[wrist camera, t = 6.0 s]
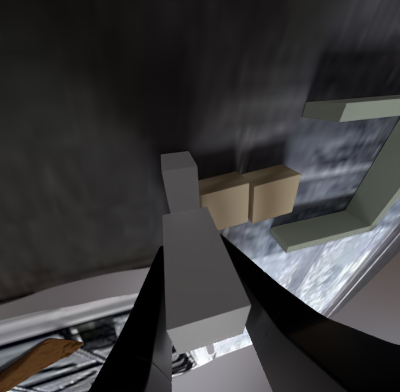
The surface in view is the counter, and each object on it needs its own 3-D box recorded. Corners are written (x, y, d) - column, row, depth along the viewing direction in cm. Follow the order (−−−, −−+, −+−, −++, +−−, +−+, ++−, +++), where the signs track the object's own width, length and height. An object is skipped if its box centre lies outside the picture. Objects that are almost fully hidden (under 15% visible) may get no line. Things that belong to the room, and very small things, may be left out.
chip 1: (235, 170, 13) (249, 183, 11) (236, 205, 16) (247, 221, 14) (191, 181, 13) (197, 196, 11) (198, 215, 15) (204, 233, 13)
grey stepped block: (195, 150, 11) (266, 251, 4) (201, 235, 16) (237, 351, 9) (153, 155, 11) (142, 282, 3) (172, 241, 16) (185, 369, 8)
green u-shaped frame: (423, 92, 13) (483, 91, 11) (347, 214, 21) (372, 230, 19) (305, 102, 11) (346, 103, 9) (269, 233, 19) (285, 252, 17)
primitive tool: (50, 333, 21) (33, 372, 18) (88, 338, 24) (78, 371, 21) (-42, 389, 23) (-70, 432, 20) (4, 387, 26) (-15, 423, 23)
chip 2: (280, 163, 14) (300, 174, 12) (275, 197, 16) (291, 212, 14) (239, 173, 14) (254, 186, 12) (240, 207, 16) (252, 223, 14)
